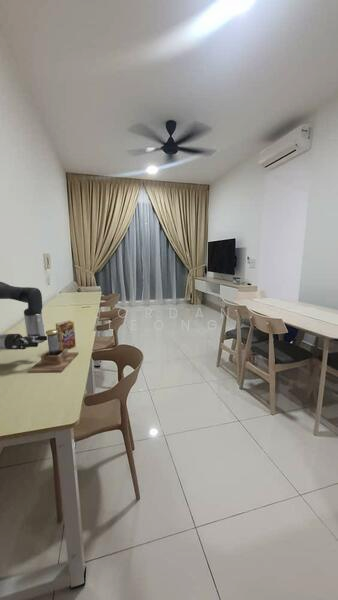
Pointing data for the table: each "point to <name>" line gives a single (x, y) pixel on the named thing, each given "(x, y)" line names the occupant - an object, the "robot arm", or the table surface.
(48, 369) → the socket block
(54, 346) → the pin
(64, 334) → the candy box
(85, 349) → the table surface
